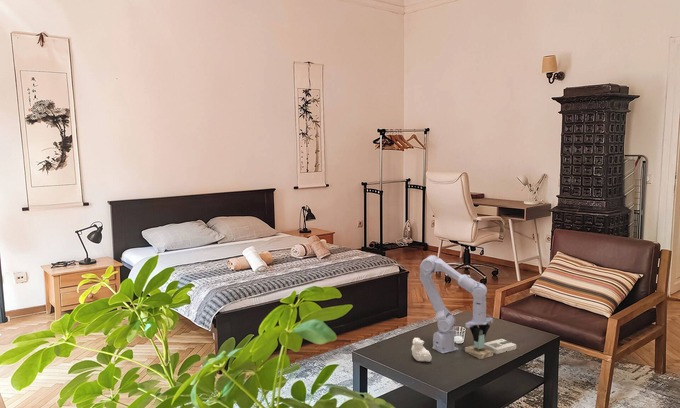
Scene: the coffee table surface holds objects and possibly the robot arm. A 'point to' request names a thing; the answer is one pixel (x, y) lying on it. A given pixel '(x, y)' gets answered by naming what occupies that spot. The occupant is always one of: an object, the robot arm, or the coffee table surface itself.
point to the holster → (482, 354)
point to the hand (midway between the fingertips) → (479, 340)
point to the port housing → (500, 346)
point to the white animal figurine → (420, 351)
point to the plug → (480, 340)
